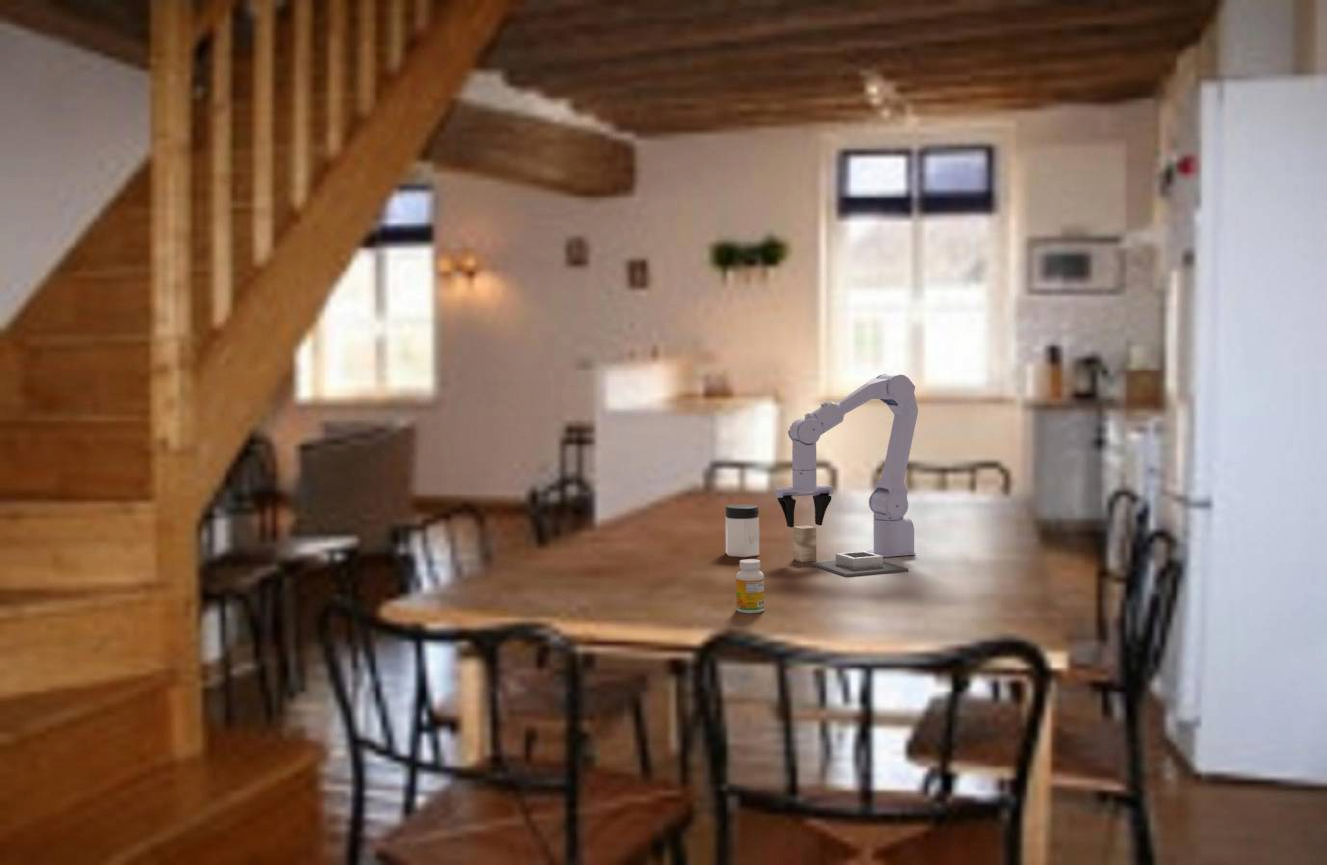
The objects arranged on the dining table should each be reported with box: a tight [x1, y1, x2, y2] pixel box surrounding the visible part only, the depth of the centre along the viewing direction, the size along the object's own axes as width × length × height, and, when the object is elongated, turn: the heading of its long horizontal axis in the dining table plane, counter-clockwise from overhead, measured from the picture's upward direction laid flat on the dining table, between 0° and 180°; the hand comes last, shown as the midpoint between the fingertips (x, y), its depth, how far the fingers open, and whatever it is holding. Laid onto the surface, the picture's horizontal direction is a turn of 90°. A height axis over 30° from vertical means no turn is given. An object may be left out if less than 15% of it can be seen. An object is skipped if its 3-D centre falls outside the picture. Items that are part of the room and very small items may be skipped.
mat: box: [811, 560, 909, 578], centre depth 268 cm, size 16×16×1 cm
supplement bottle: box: [735, 558, 765, 614], centre depth 225 cm, size 5×5×10 cm
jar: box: [724, 503, 760, 558], centre depth 289 cm, size 9×8×12 cm
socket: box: [835, 550, 884, 570], centre depth 268 cm, size 8×8×2 cm
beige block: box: [793, 525, 817, 563], centre depth 280 cm, size 4×4×8 cm
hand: (804, 525), depth 279 cm, fingers open, 7 cm apart
